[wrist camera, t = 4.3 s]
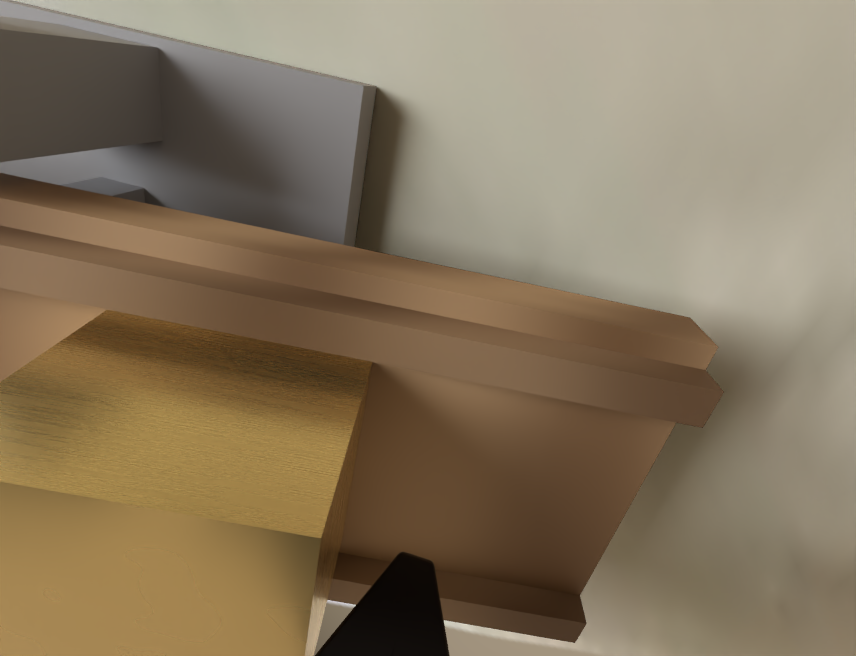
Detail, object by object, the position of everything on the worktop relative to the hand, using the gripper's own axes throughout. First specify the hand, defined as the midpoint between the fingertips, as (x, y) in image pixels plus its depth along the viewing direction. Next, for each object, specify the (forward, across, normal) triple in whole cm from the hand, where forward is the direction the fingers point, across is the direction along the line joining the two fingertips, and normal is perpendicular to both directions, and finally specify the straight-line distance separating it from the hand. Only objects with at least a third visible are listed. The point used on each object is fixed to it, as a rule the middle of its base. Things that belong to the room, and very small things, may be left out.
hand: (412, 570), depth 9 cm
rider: (+2, +4, 0) cm, 5 cm away
